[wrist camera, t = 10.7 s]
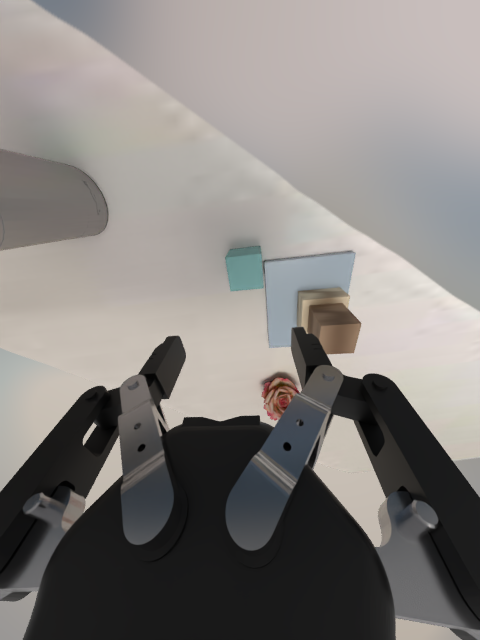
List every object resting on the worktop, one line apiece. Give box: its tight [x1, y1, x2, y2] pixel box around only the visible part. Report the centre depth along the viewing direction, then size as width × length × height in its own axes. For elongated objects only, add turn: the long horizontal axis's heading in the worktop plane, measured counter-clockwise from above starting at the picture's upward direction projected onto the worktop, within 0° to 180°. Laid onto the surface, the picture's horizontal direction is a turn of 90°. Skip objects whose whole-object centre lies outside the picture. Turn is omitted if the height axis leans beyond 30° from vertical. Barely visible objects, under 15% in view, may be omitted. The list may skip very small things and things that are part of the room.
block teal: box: [225, 246, 264, 291], centre depth 29 cm, size 5×5×6 cm
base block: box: [297, 287, 350, 334], centre depth 32 cm, size 7×7×4 cm
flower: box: [262, 378, 300, 420], centre depth 44 cm, size 10×9×8 cm
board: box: [264, 251, 356, 348], centre depth 34 cm, size 14×18×1 cm
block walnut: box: [307, 303, 361, 354], centre depth 28 cm, size 5×5×6 cm
